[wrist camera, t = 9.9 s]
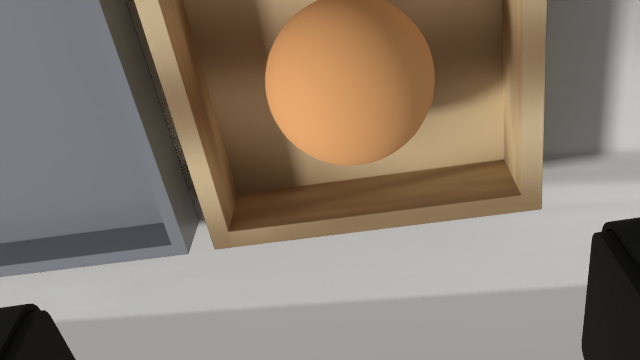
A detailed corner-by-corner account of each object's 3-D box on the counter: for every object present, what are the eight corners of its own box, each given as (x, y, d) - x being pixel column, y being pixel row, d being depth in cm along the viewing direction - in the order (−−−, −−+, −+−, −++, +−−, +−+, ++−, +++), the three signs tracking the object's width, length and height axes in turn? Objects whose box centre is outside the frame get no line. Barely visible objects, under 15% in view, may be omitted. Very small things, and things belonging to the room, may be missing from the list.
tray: (135, -107, 22) (103, -93, 19) (519, -180, 21) (551, -177, 18) (227, 203, 29) (214, 249, 26) (519, 165, 28) (541, 209, 25)
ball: (257, -12, 23) (236, 43, 18) (417, -39, 22) (441, 10, 17) (288, 128, 26) (277, 208, 21) (429, 108, 26) (452, 186, 20)
